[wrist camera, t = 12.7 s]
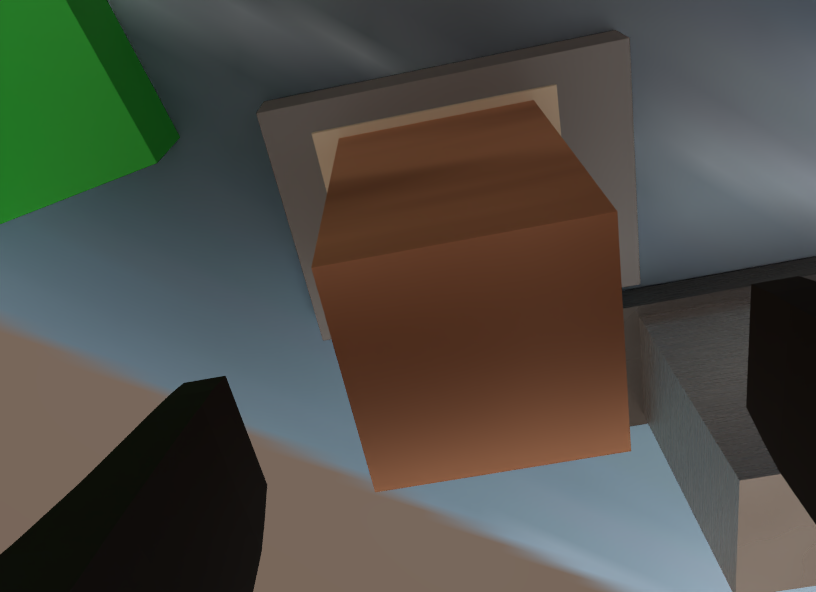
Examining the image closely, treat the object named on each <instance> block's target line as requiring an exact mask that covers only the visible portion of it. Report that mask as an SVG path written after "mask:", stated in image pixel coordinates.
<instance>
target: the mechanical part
mask: <svg viewBox="0 0 816 592" xmlns="http://www.w3.org/2000/svg"><path fill="white" fill-rule="evenodd" d="M179 138H180V136H179V134H178V132H177V131H176V129H175V127H174V125H173V123H172V121H171V119H170V117H169V116H168V114H167V112H166V110H165V108H164V106H163V104H162V102H161V101H160V99H159V97H158V95H157V93H156V91H155V89H154V88H153V86H152V84H151V82H150V80H149V78H148V76H147V74H146V73H145V71H144V69H143V67H142V65H141V63H140V61H139V59H138V58H137V56H136V54H135V52H134V50H133V48H132V46H131V45H130V43H129V41H128V39H127V37H126V35H125V33H124V31H123V30H122V28H121V26H120V24H119V22H118V20H117V18H116V16H115V15H114V13H113V11H112V9H111V7H110V5H109V3H108V2H107V0H0V224H2V223H5V222H7V221H10V220H12V219H15V218H17V217H20V216H22V215H25V214H28V213H30V212H33V211H35V210H38V209H40V208H43V207H46V206H48V205H51V204H53V203H56V202H58V201H61V200H64V199H66V198H69V197H71V196H74V195H76V194H79V193H81V192H84V191H87V190H89V189H92V188H94V187H97V186H99V185H102V184H105V183H107V182H110V181H112V180H115V179H117V178H120V177H123V176H125V175H128V174H130V173H133V172H135V171H138V170H140V169H143V168H146V167H148V166H151V165H153V164H156V163H158V161H159V160H160V159H161V158H162V157H163V156H164V155H165V154H166V153H167V151H168V150H169V149H170V148H171V147H172V146H173V145H174V144H175V143H176V141H177V140H178V139H179Z"/></svg>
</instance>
